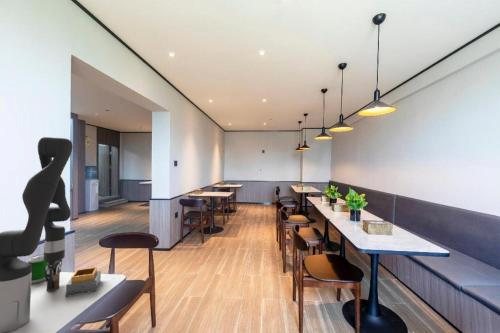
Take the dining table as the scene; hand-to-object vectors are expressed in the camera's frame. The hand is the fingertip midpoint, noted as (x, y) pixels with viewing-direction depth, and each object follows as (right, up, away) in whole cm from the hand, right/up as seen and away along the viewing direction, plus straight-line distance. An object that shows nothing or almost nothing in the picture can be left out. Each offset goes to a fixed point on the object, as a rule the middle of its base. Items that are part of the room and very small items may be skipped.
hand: (53, 286), depth 103 cm
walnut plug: (0, -1, 0) cm, 1 cm away
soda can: (-15, -1, +8) cm, 16 cm away
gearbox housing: (+14, -1, +1) cm, 14 cm away
